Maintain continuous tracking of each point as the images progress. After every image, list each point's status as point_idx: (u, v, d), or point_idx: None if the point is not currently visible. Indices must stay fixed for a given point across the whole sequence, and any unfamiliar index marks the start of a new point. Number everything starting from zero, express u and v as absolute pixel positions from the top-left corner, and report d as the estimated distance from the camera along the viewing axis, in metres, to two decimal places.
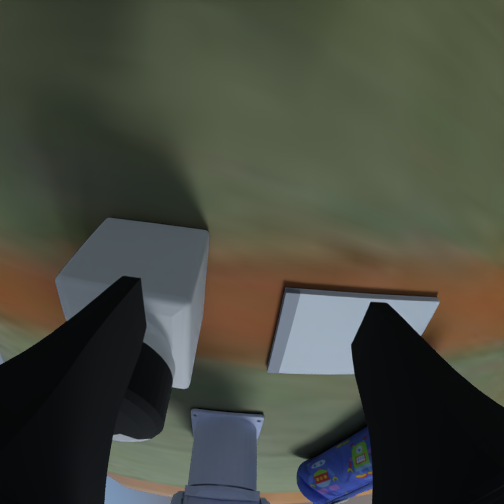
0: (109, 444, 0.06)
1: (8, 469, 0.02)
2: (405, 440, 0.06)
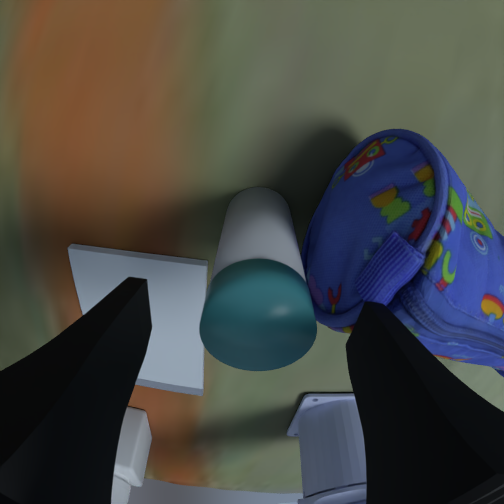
0: (116, 446, 0.06)
1: (18, 474, 0.02)
2: (398, 441, 0.06)
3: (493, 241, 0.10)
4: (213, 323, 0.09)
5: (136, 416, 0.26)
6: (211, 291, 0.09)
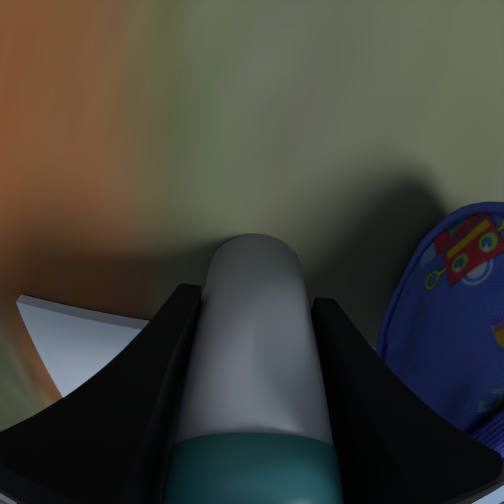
0: None
1: None
2: (336, 448, 0.06)
3: None
4: None
5: None
6: (172, 478, 0.04)
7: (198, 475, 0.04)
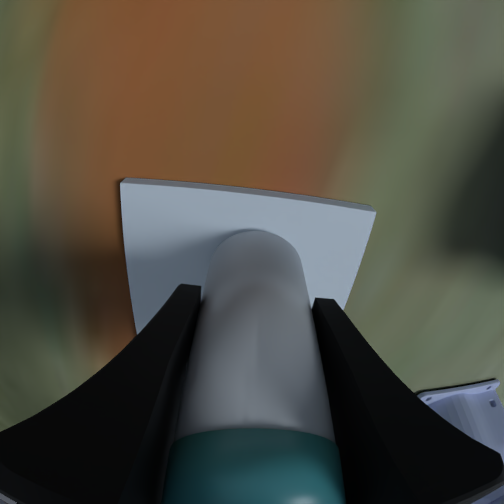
0: None
1: None
2: None
3: None
4: None
5: None
6: (174, 475, 0.04)
7: (201, 472, 0.04)
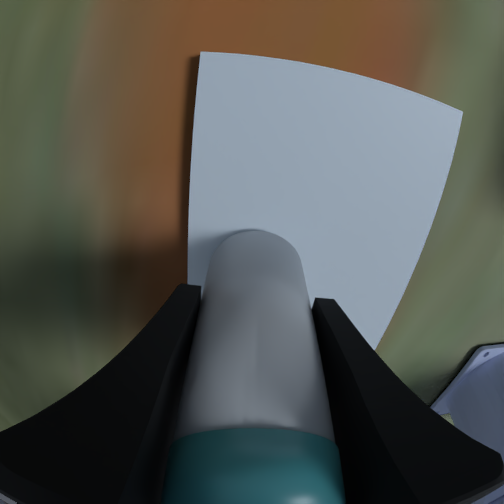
0: None
1: None
2: None
3: None
4: None
5: None
6: (173, 474, 0.04)
7: (200, 471, 0.04)
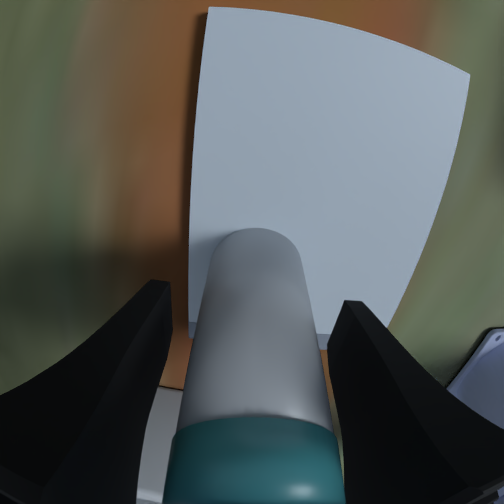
0: (140, 452, 0.07)
1: (59, 494, 0.02)
2: (373, 445, 0.06)
3: None
4: None
5: None
6: (176, 464, 0.04)
7: (202, 460, 0.04)
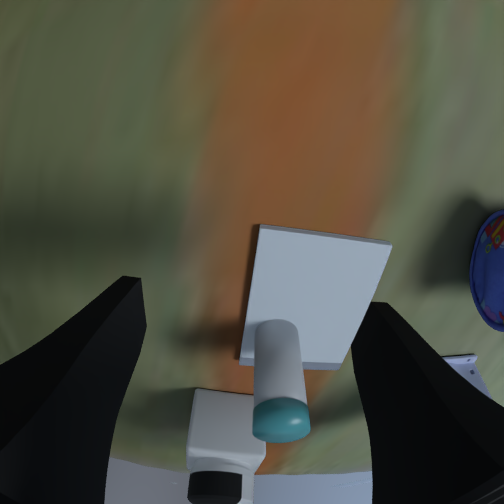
0: (109, 444, 0.06)
1: (8, 469, 0.02)
2: (405, 440, 0.06)
3: None
4: (260, 428, 0.16)
5: None
6: (259, 414, 0.16)
7: (268, 410, 0.16)
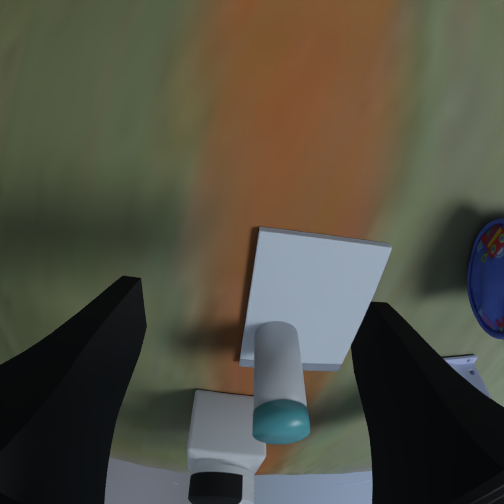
0: (110, 444, 0.06)
1: (8, 469, 0.02)
2: (405, 440, 0.06)
3: None
4: (260, 430, 0.16)
5: None
6: (259, 416, 0.16)
7: (268, 413, 0.16)
